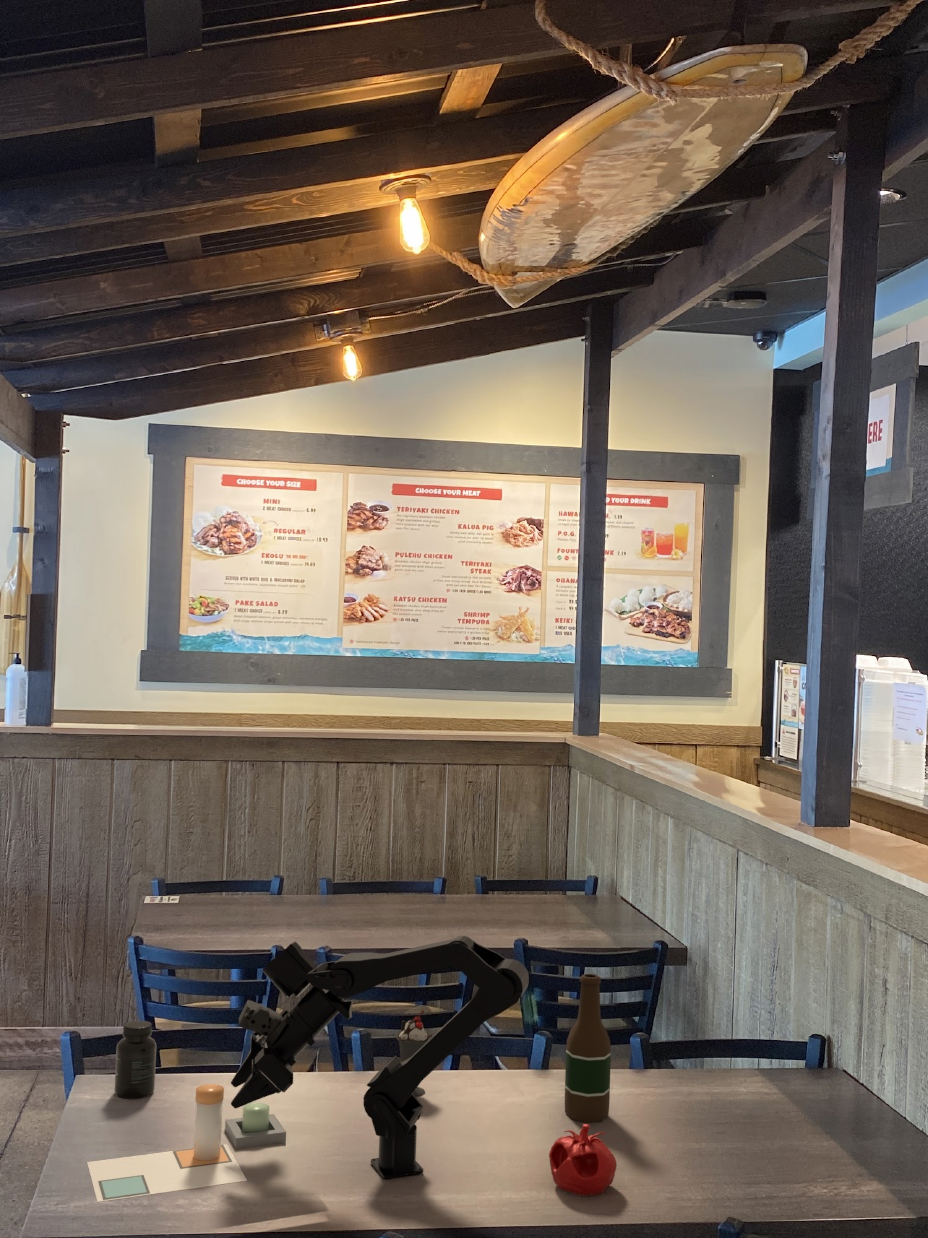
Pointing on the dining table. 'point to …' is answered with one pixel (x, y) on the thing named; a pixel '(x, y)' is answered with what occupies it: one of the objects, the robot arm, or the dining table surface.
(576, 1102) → the beer bottle
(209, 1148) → the marker
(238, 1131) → the button housing
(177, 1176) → the colouring mat
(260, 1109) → the button
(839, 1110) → the dining table surface
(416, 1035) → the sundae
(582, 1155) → the pomegranate
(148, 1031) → the supplement bottle
